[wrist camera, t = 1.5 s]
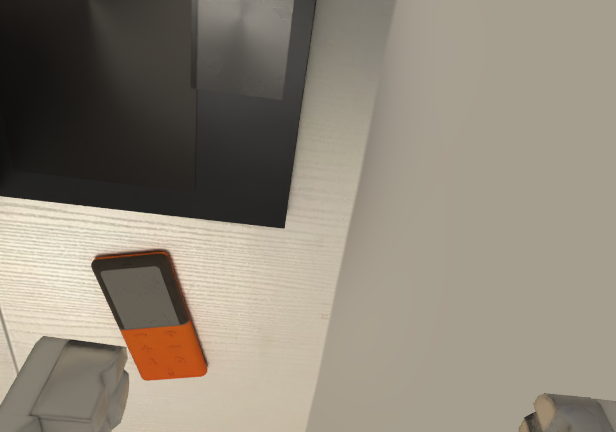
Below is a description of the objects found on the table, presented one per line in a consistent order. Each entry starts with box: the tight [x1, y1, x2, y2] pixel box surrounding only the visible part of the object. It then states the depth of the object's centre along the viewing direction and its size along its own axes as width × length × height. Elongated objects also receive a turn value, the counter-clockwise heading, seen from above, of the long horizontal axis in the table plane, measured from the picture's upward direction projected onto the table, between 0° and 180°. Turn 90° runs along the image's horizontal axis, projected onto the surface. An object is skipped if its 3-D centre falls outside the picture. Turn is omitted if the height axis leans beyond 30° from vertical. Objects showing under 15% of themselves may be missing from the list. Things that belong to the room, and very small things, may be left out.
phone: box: [91, 252, 207, 381], centre depth 48 cm, size 6×1×15 cm
